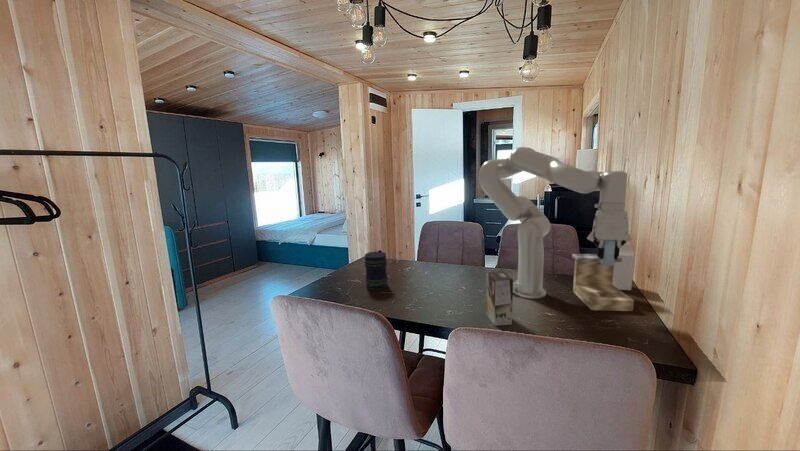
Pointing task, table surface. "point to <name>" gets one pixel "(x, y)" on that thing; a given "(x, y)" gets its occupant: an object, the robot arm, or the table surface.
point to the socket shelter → (598, 284)
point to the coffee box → (499, 298)
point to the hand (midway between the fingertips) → (607, 257)
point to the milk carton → (624, 268)
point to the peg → (608, 252)
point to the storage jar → (376, 270)
